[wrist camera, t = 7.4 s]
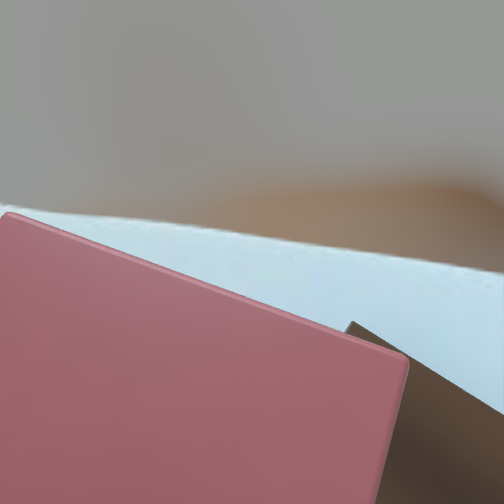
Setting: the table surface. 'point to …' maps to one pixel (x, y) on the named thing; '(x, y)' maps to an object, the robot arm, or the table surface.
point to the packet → (176, 387)
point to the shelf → (440, 442)
